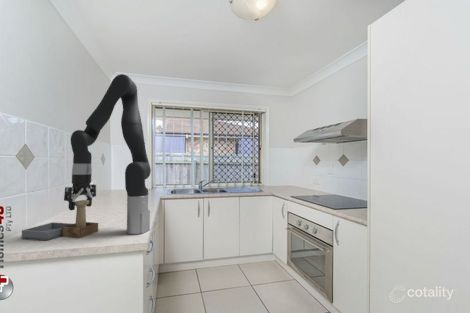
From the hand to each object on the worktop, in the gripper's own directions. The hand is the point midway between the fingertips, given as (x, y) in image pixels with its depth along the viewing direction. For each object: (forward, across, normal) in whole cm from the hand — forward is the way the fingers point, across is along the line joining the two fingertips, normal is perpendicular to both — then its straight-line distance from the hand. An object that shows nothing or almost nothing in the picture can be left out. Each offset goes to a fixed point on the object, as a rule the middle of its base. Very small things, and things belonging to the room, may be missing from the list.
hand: (80, 208), depth 101 cm
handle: (+12, 0, 0) cm, 12 cm away
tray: (+12, -4, +12) cm, 17 cm away
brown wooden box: (+12, 0, 0) cm, 12 cm away
